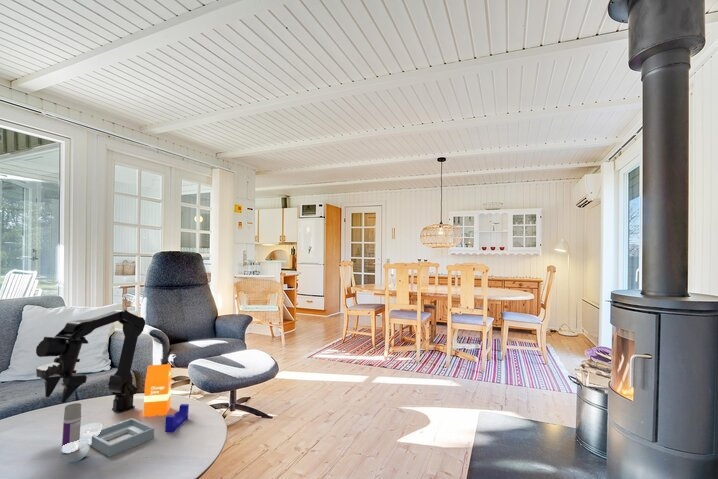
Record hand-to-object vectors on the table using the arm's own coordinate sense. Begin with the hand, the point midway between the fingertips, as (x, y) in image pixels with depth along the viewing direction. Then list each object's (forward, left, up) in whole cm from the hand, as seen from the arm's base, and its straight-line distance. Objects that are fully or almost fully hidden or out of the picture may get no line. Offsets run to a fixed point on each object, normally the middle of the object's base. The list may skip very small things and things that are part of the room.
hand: (55, 399), depth 131 cm
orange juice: (-33, +10, -14) cm, 37 cm away
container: (0, +15, -14) cm, 20 cm away
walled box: (-12, +22, -14) cm, 29 cm away
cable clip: (-30, +27, -14) cm, 43 cm away
